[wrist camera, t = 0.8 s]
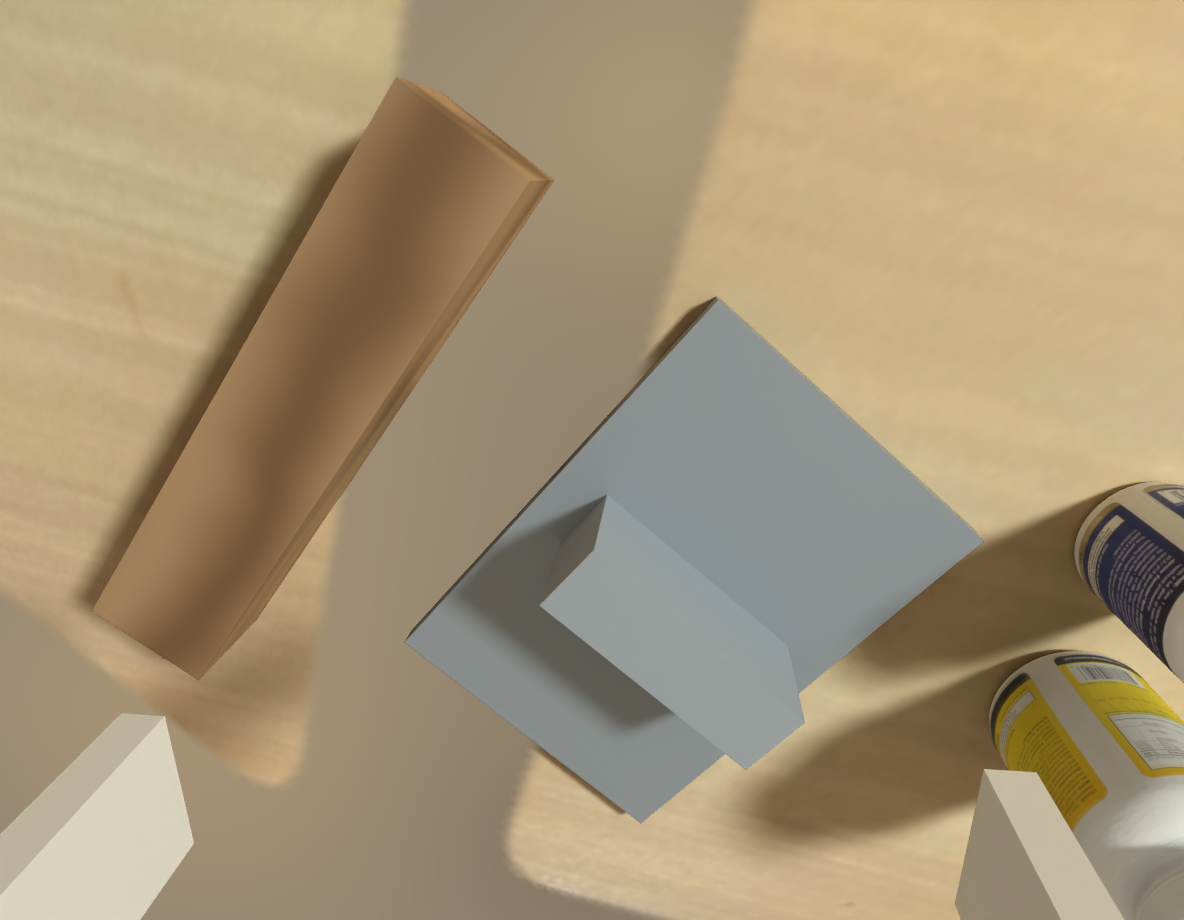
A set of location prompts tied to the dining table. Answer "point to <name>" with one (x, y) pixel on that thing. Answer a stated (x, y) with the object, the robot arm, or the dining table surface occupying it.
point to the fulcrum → (691, 571)
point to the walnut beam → (323, 371)
